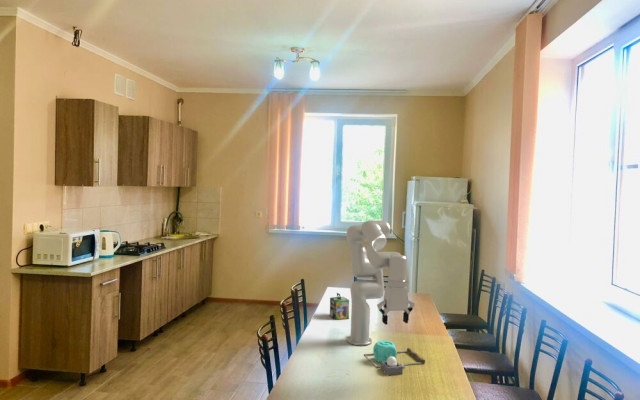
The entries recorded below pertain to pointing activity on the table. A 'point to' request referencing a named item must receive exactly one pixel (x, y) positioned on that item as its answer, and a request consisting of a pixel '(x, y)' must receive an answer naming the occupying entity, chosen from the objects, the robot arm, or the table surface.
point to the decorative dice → (384, 350)
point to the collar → (391, 368)
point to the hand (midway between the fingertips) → (395, 323)
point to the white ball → (391, 361)
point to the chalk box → (339, 307)
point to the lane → (415, 355)
